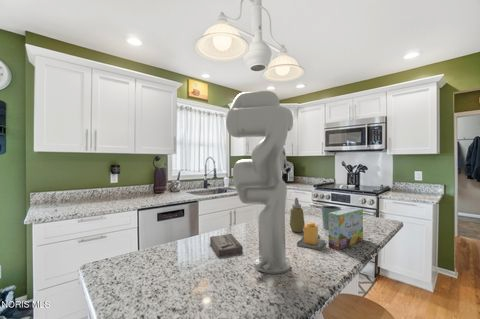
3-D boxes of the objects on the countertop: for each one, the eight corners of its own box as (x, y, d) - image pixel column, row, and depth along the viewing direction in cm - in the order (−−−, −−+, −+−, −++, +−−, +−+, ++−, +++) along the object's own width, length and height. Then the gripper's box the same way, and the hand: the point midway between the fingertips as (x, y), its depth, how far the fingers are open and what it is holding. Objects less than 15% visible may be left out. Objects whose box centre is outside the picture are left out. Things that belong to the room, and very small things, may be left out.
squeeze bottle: (306, 233, 120) (305, 198, 121) (291, 233, 120) (290, 199, 121) (302, 228, 128) (302, 196, 129) (288, 229, 128) (287, 196, 129)
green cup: (322, 230, 125) (321, 208, 125) (321, 225, 134) (320, 205, 135) (342, 231, 122) (341, 209, 122) (340, 226, 131) (339, 205, 132)
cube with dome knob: (318, 240, 104) (317, 222, 104) (315, 244, 100) (314, 225, 100) (307, 239, 107) (306, 221, 107) (304, 242, 103) (303, 224, 103)
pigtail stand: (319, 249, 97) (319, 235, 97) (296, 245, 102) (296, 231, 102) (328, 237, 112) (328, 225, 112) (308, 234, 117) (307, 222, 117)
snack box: (340, 250, 95) (339, 214, 96) (328, 247, 100) (327, 212, 100) (364, 240, 108) (363, 208, 108) (352, 237, 113) (351, 206, 113)
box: (231, 239, 111) (230, 233, 111) (243, 253, 95) (243, 245, 95) (209, 243, 108) (209, 236, 108) (218, 257, 91) (218, 250, 91)
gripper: (295, 144, 105) (295, 182, 104) (261, 146, 114) (262, 181, 113) (289, 143, 98) (290, 183, 98) (254, 145, 107) (254, 182, 107)
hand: (275, 182), depth 106 cm, fingers open, 9 cm apart
